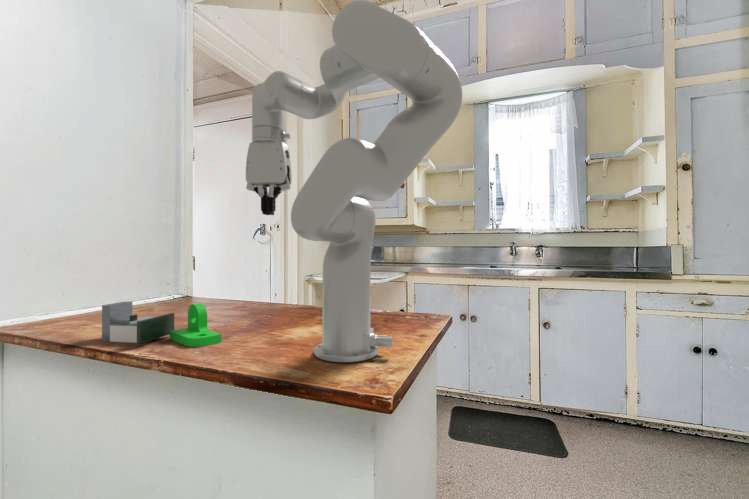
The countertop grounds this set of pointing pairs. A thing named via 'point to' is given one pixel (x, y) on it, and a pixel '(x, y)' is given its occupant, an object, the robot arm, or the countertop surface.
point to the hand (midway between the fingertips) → (268, 214)
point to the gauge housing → (118, 323)
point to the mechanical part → (196, 329)
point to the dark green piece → (152, 326)
